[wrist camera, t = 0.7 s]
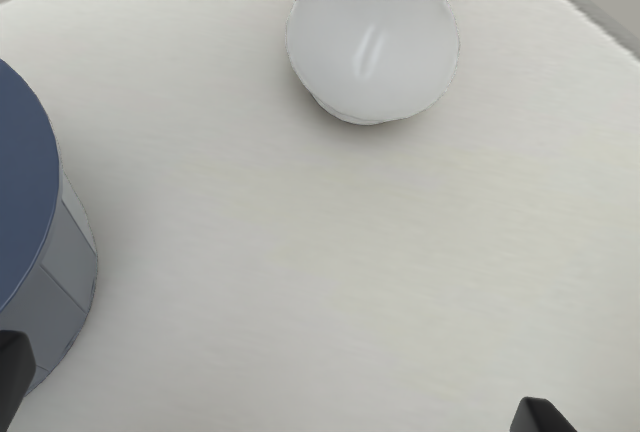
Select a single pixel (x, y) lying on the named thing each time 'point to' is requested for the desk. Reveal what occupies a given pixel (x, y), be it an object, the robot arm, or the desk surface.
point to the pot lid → (25, 186)
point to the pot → (58, 289)
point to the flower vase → (373, 55)
